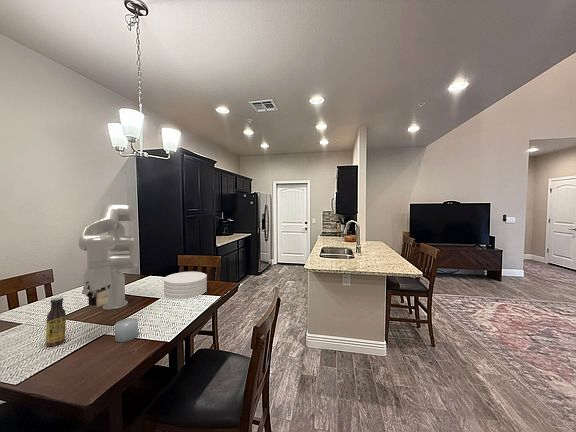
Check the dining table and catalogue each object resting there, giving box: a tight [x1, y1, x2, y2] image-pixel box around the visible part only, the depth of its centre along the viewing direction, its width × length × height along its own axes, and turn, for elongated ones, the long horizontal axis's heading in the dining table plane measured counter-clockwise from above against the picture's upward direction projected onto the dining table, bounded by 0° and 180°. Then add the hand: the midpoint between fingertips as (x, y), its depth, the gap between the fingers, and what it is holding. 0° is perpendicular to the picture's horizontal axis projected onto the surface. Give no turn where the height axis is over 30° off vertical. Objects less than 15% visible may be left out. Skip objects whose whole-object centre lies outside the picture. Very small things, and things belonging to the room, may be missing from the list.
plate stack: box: [163, 271, 208, 300], centre depth 174 cm, size 28×28×12 cm
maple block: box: [87, 289, 108, 308], centre depth 113 cm, size 5×5×6 cm
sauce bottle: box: [45, 296, 67, 347], centre depth 108 cm, size 7×6×20 cm
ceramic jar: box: [114, 317, 139, 343], centre depth 114 cm, size 9×9×7 cm
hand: (98, 302), depth 113 cm, fingers closed on maple block, 5 cm apart
